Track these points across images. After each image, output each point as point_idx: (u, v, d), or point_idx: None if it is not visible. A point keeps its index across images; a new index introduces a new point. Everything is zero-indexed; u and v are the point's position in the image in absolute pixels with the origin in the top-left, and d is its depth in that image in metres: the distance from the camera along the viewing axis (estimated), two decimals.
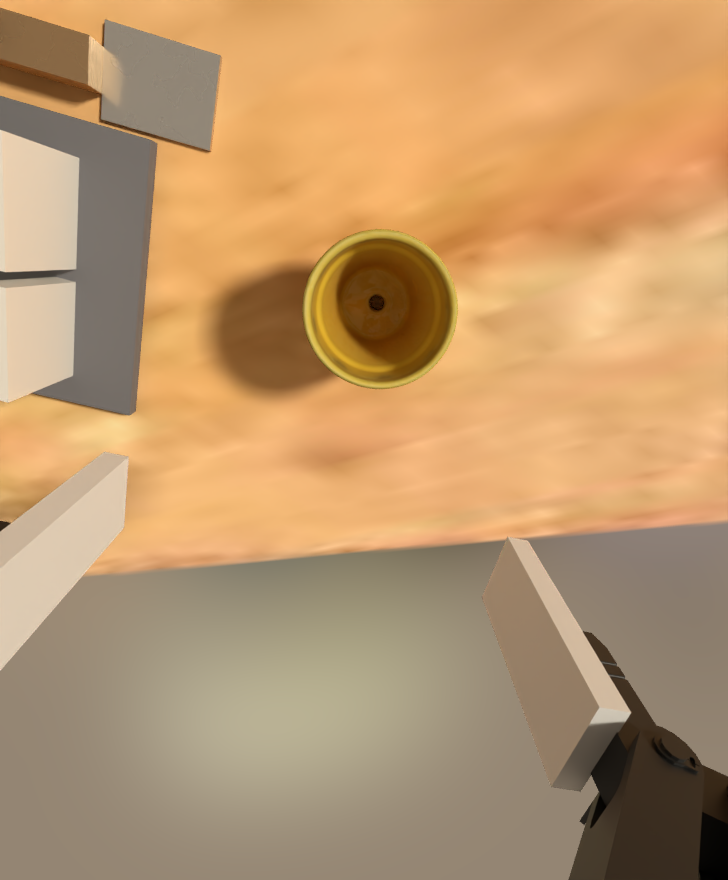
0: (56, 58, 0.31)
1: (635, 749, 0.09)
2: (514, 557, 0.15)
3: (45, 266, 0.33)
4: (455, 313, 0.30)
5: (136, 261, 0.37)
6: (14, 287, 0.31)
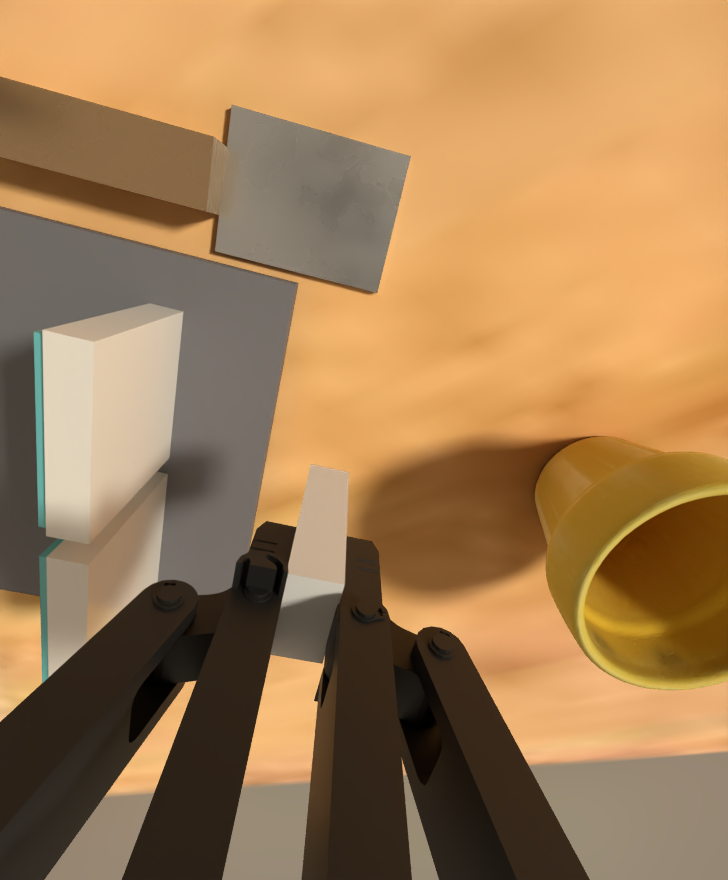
0: (158, 173, 0.19)
1: (340, 626, 0.10)
2: (327, 483, 0.17)
3: (137, 487, 0.21)
4: None
5: (258, 447, 0.25)
6: (99, 551, 0.19)
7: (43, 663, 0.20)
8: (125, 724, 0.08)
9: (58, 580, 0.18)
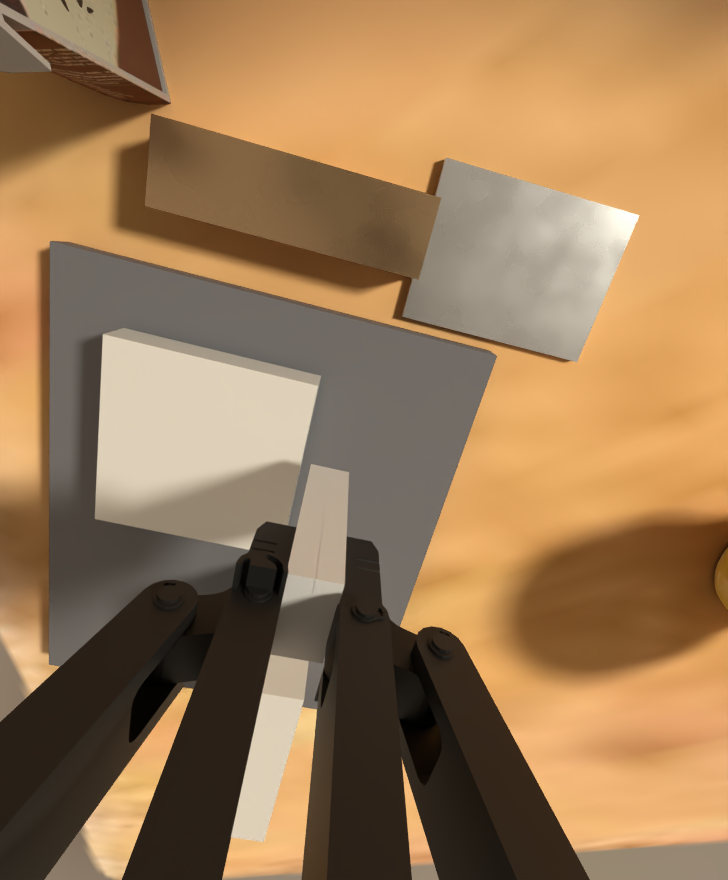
0: (370, 237, 0.17)
1: (340, 626, 0.10)
2: (327, 483, 0.17)
3: (192, 532, 0.20)
4: None
5: (427, 527, 0.22)
6: (305, 678, 0.16)
7: None
8: (124, 725, 0.08)
9: (264, 716, 0.16)
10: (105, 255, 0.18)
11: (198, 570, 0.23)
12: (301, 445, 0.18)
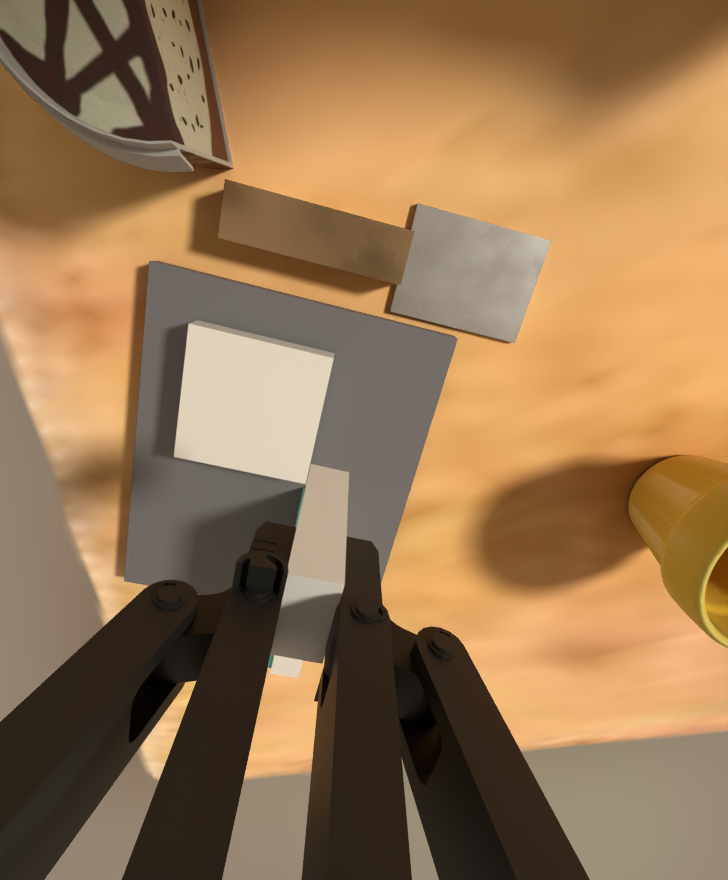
0: (367, 257, 0.25)
1: (339, 626, 0.10)
2: (327, 483, 0.17)
3: (242, 466, 0.28)
4: None
5: (411, 467, 0.30)
6: None
7: None
8: (125, 724, 0.08)
9: None
10: (186, 270, 0.26)
11: (241, 502, 0.31)
12: (321, 400, 0.26)
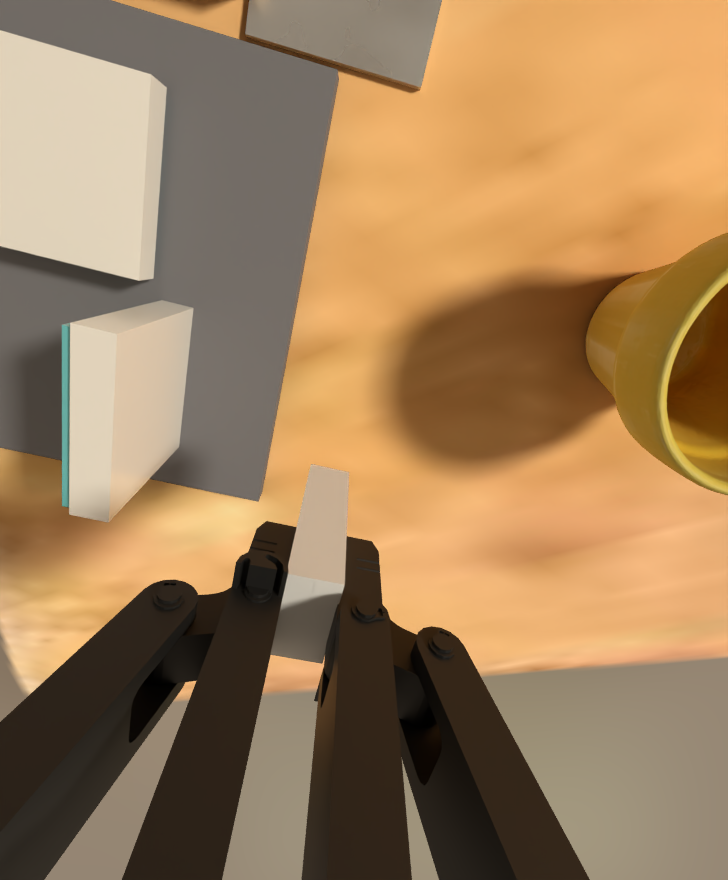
0: None
1: (339, 626, 0.10)
2: (327, 483, 0.17)
3: (51, 252, 0.21)
4: None
5: (292, 274, 0.23)
6: (127, 330, 0.17)
7: (63, 470, 0.18)
8: (124, 725, 0.08)
9: (82, 354, 0.16)
10: None
11: None
12: (143, 146, 0.19)
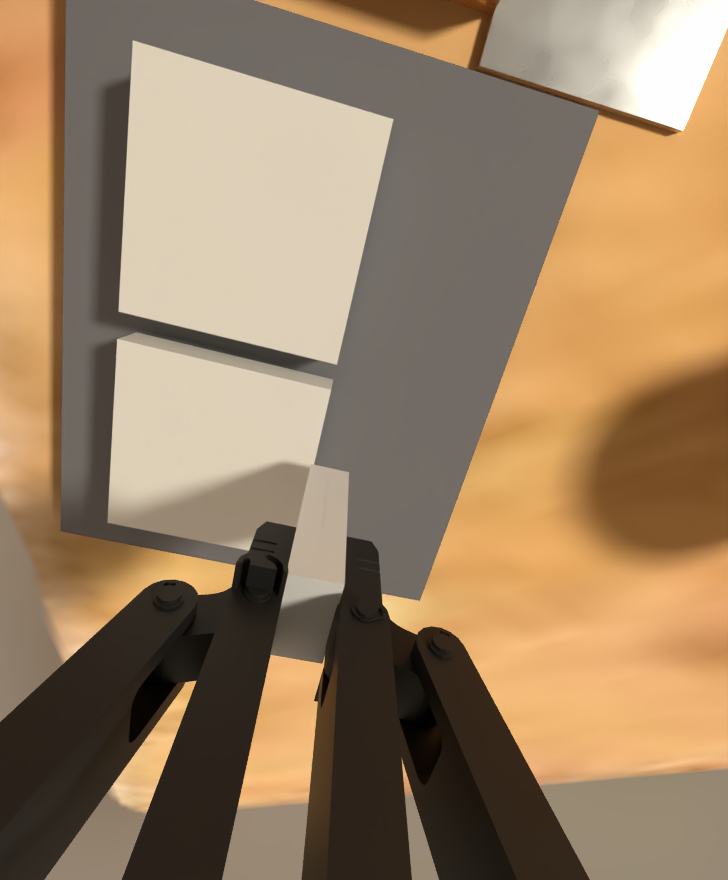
0: None
1: (339, 626, 0.10)
2: (327, 483, 0.17)
3: (233, 331, 0.17)
4: None
5: (502, 350, 0.19)
6: (142, 345, 0.17)
7: None
8: (125, 724, 0.08)
9: None
10: None
11: None
12: (369, 206, 0.15)
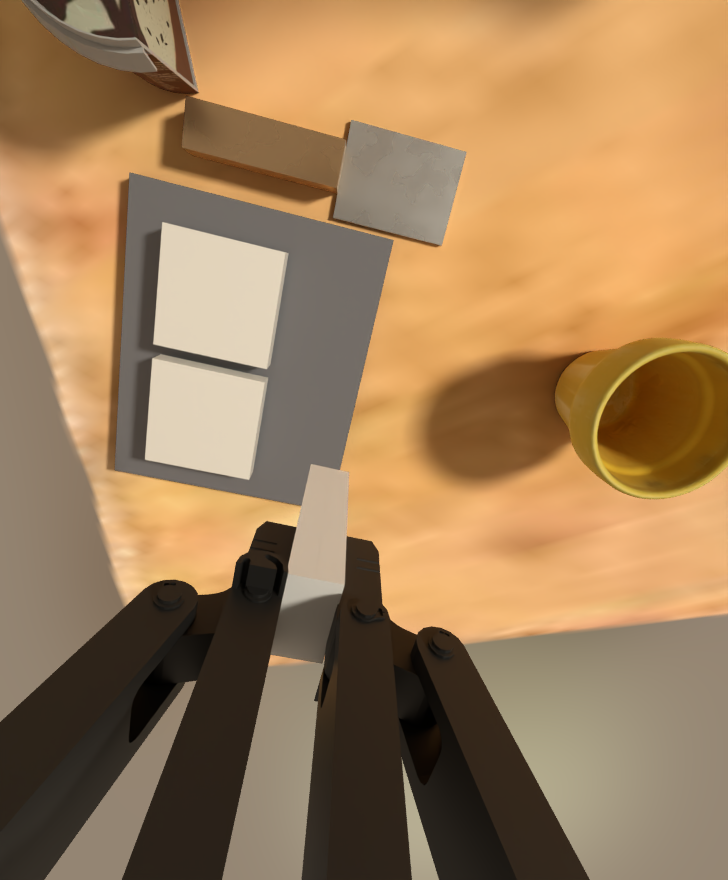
0: (308, 163, 0.29)
1: (339, 626, 0.10)
2: (327, 483, 0.17)
3: (212, 353, 0.33)
4: None
5: (360, 359, 0.35)
6: (165, 361, 0.33)
7: None
8: (124, 725, 0.08)
9: None
10: None
11: None
12: (277, 291, 0.31)
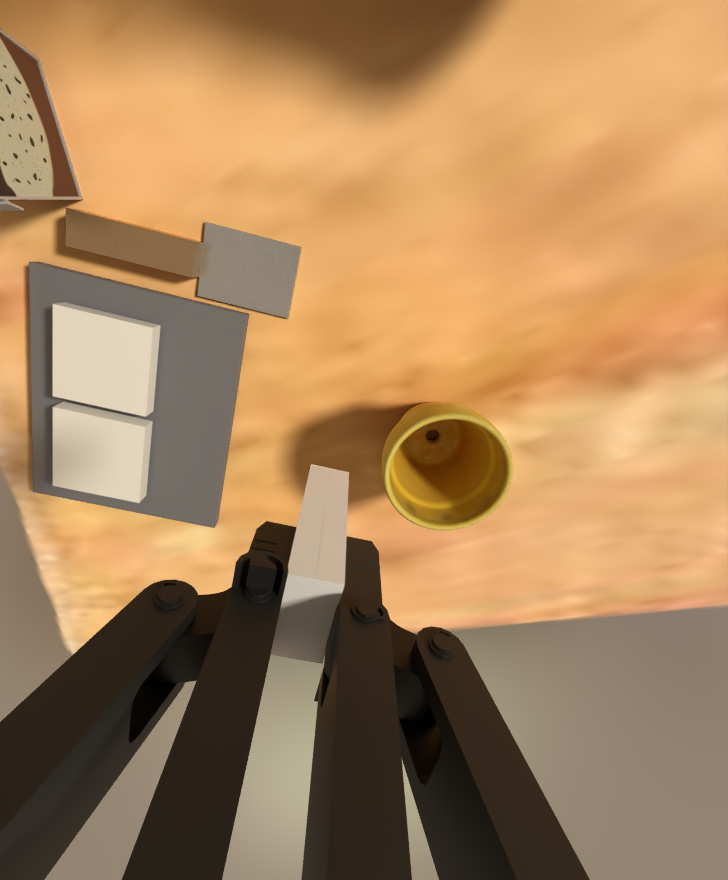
0: (167, 258, 0.37)
1: (339, 626, 0.10)
2: (327, 483, 0.17)
3: (100, 403, 0.40)
4: (511, 473, 0.36)
5: (228, 407, 0.43)
6: (63, 409, 0.41)
7: None
8: (124, 725, 0.08)
9: None
10: (54, 268, 0.38)
11: None
12: (148, 357, 0.39)
